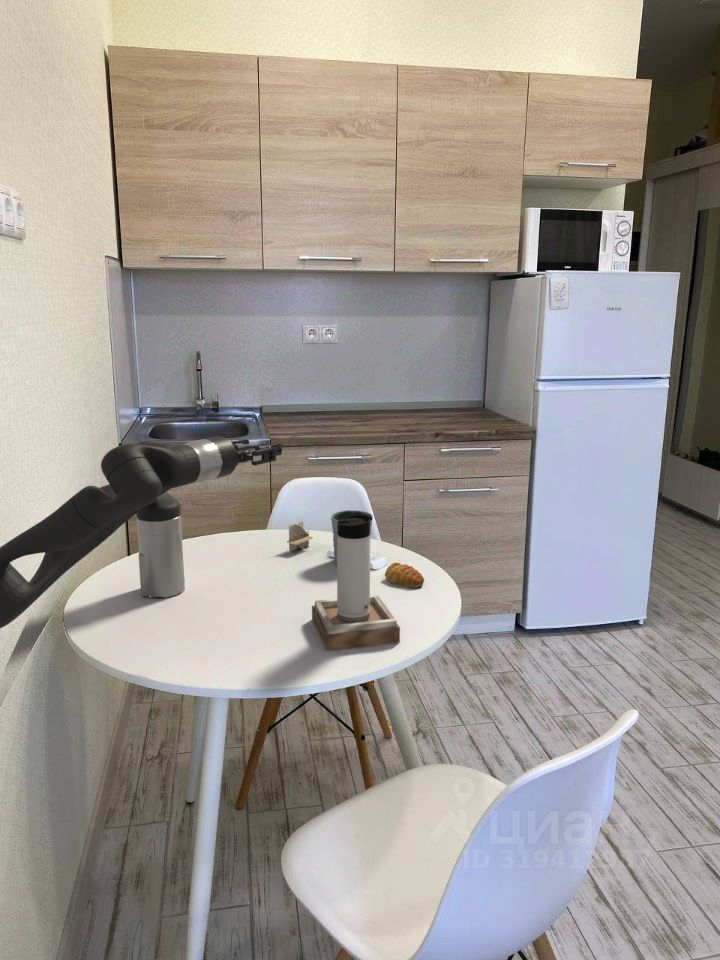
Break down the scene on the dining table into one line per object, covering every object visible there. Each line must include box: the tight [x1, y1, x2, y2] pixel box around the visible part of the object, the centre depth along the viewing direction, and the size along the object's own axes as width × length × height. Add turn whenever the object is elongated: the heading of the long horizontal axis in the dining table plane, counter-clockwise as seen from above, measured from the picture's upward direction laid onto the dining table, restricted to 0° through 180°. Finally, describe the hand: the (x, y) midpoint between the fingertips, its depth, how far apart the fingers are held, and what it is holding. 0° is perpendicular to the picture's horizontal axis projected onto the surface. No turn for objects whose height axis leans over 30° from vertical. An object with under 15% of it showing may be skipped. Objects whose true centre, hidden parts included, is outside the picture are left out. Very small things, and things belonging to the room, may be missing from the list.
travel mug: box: [336, 515, 373, 623], centre depth 135 cm, size 6×7×20 cm
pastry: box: [384, 561, 425, 589], centre depth 163 cm, size 9×7×4 cm
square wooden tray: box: [311, 594, 401, 652], centre depth 137 cm, size 14×14×4 cm
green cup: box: [331, 509, 373, 565], centre depth 174 cm, size 10×10×12 cm
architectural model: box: [286, 520, 314, 553], centre depth 183 cm, size 3×7×7 cm, turn 144°
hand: (264, 446), depth 142 cm, fingers open, 8 cm apart
